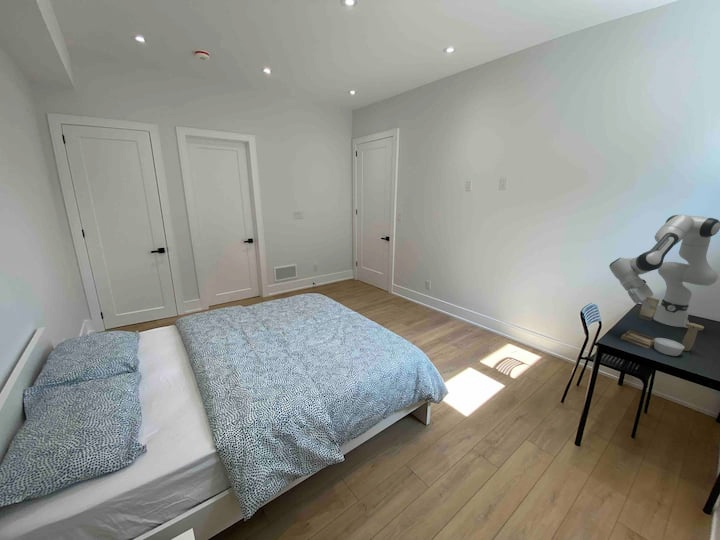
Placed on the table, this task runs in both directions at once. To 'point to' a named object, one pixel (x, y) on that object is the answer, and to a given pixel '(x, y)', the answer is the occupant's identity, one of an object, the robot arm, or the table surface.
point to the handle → (691, 335)
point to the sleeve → (650, 312)
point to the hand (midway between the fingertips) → (651, 307)
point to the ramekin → (668, 346)
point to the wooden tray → (638, 339)
